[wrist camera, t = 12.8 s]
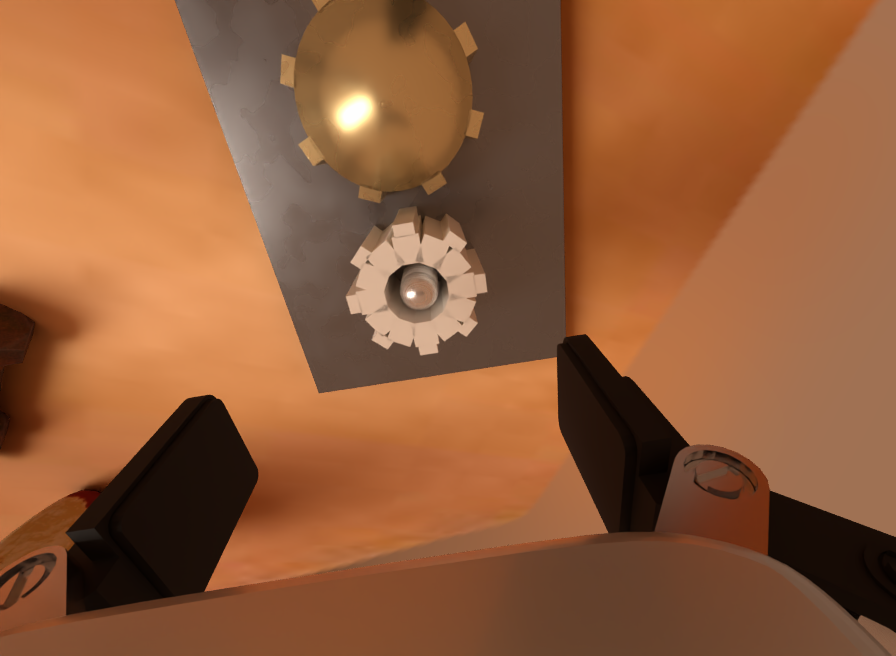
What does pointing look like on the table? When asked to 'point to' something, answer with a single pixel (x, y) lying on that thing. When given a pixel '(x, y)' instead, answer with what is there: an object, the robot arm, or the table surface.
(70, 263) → the table surface
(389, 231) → the planet gear
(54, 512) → the food model
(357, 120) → the sun gear
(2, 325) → the bolt
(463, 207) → the carrier plate
